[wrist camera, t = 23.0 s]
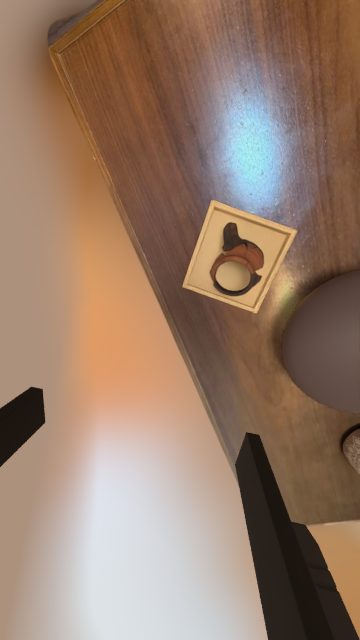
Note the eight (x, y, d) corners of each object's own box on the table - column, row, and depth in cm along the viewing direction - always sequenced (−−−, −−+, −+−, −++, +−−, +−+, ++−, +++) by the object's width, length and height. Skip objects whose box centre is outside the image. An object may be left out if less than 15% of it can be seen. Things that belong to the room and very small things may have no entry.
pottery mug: (270, 273, 34) (268, 295, 28) (224, 284, 39) (214, 305, 34) (255, 206, 29) (249, 217, 23) (204, 231, 34) (188, 244, 28)
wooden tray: (183, 285, 37) (181, 286, 34) (210, 204, 32) (211, 199, 30) (252, 310, 37) (256, 313, 34) (290, 233, 32) (297, 230, 30)
